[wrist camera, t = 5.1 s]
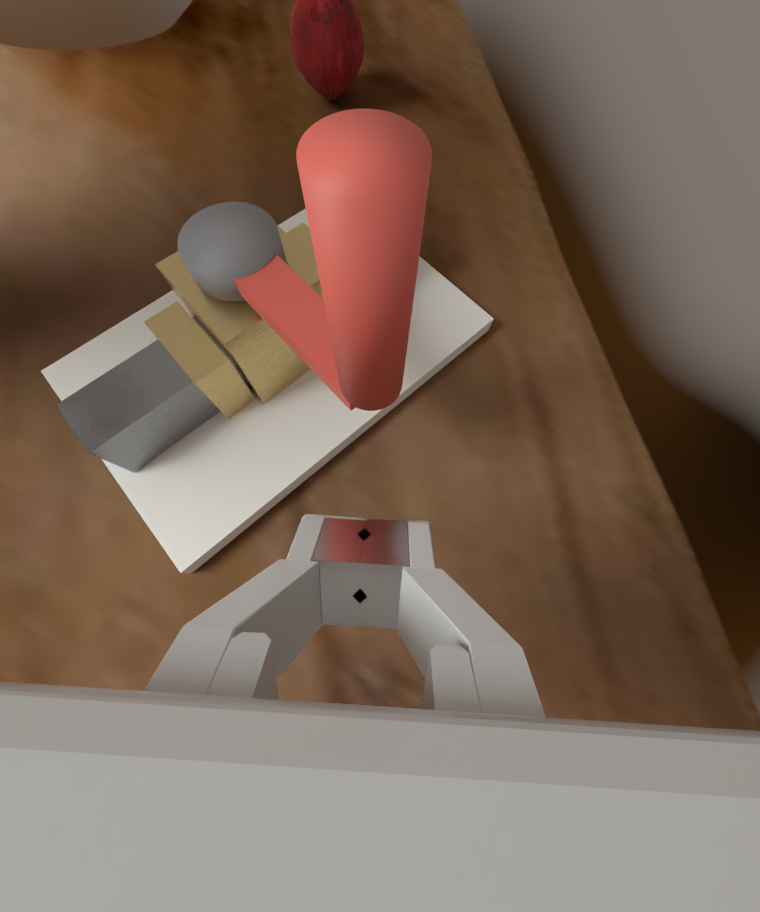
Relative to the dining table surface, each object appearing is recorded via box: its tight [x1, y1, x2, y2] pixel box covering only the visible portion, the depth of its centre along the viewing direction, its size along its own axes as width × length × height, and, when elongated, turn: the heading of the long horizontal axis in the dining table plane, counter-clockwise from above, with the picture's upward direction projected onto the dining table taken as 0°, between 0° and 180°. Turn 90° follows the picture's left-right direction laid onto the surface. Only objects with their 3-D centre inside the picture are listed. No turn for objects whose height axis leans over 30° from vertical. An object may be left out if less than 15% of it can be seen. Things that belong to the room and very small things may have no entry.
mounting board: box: [41, 209, 494, 573], centre depth 24 cm, size 24×16×1 cm, turn 132°
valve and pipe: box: [56, 205, 323, 473], centre depth 21 cm, size 22×6×7 cm, turn 132°
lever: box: [177, 109, 432, 411], centre depth 12 cm, size 13×4×9 cm, turn 42°
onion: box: [290, 0, 364, 101], centre depth 29 cm, size 6×6×8 cm
